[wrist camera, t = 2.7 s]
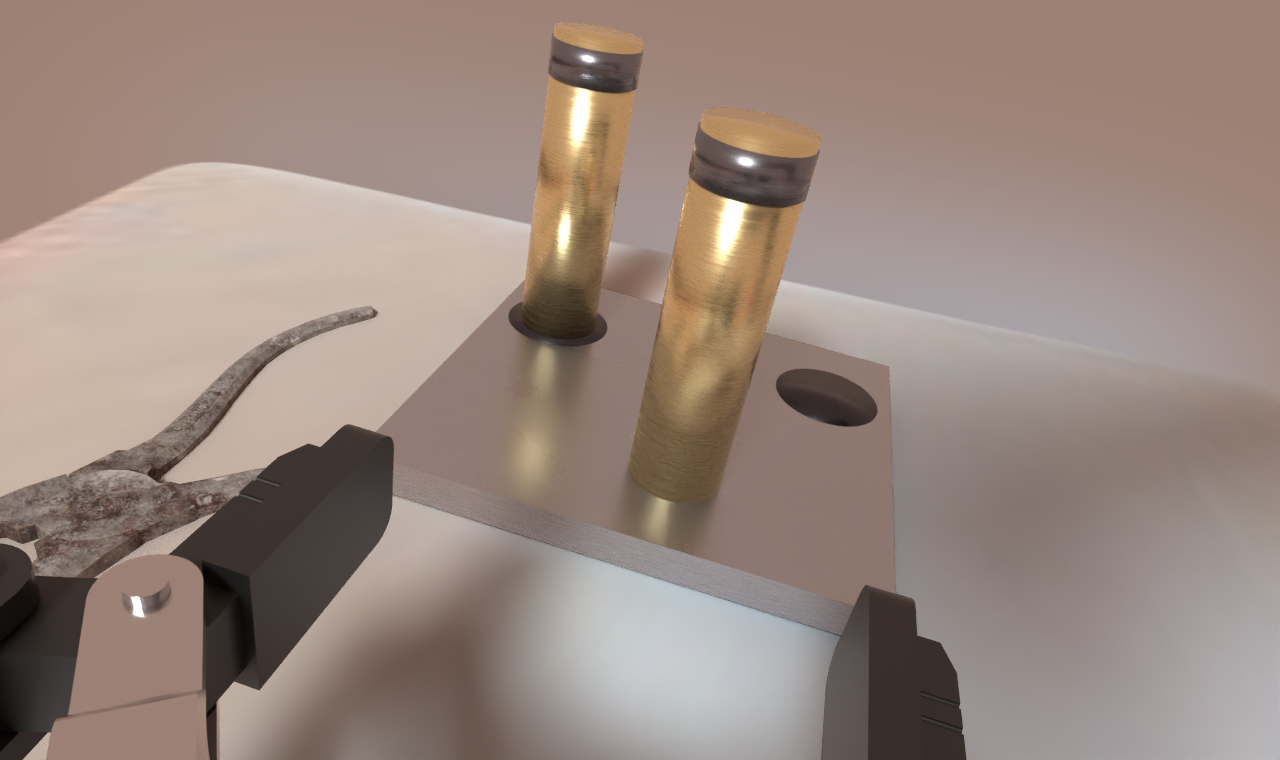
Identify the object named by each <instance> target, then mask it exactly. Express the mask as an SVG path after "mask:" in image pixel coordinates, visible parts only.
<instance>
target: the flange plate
mask: <svg viewBox="0 0 1280 760" xmlns="http://www.w3.org/2000/svg"><path fill="white" fill-rule="evenodd" d="M524 287H525V280H524V281H523V282H522V283H521V284H520V285H519V286H518V287H517V288H516V289H515V290H514V291H513V292H512V294H511V295H510V296H509V297H508V298H507V299H506V300H505V301H504V302H503V303H502V304H501V305H500V306H499V307H498V308H497V309H496V310H495V311H494V312H493V313H492V314H491V315H490V316H489V317H488V318H487V319H486V320H485V321H484V322H483V323H482V324H481V325H480V326H479V327H478V328H477V329H476V330H475V331H474V332H473V333H472V334H471V335H470V336H469V337H468V338H467V339H466V340H465V341H464V342H463V343H462V344H461V346H460V347H459V348H458V349H457V350H456V351H455V352H454V353H453V354H452V355H451V356H450V357H449V358H448V359H447V360H446V361H445V362H444V363H443V364H442V365H441V366H440V367H439V368H438V369H437V370H436V371H435V372H434V373H433V374H432V375H431V376H430V377H429V378H428V379H427V380H426V381H425V382H424V383H423V384H422V385H421V386H420V387H419V388H418V389H417V390H416V391H415V392H414V393H413V394H412V395H411V396H410V398H409V399H408V400H407V401H406V402H405V403H404V404H403V405H402V406H401V407H400V408H399V409H398V410H397V411H396V412H395V413H394V414H393V415H392V416H391V417H390V418H389V419H388V420H387V421H386V422H385V423H384V424H383V425H382V426H381V427H380V428H379V429H378V430H377V431H376V432H377V433H380V434H383V435H386V436H389V437H391V438H392V440H393V443H394V463H393V495H396V496H399V497H402V498H406V499H409V500H412V501H415V502H418V503H421V504H425V505H428V506H431V507H434V508H437V509H441V510H444V511H447V512H450V513H453V514H456V515H460V516H463V517H466V518H469V519H472V520H475V521H479V522H482V523H485V524H488V525H491V526H494V527H498V528H501V529H504V530H507V531H510V532H514V533H517V534H520V535H523V536H526V537H529V538H533V539H536V540H539V541H542V542H545V543H548V544H552V545H555V546H558V547H561V548H564V549H567V550H571V551H574V552H577V553H580V554H583V555H587V556H590V557H593V558H596V559H599V560H602V561H606V562H609V563H612V564H615V565H618V566H621V567H625V568H628V569H631V570H634V571H637V572H640V573H644V574H647V575H650V576H653V577H656V578H660V579H663V580H666V581H669V582H672V583H675V584H679V585H682V586H685V587H688V588H691V589H694V590H698V591H701V592H704V593H707V594H710V595H714V596H717V597H720V598H723V599H726V600H729V601H733V602H736V603H739V604H742V605H745V606H748V607H752V608H755V609H758V610H761V611H764V612H767V613H771V614H774V615H777V616H780V617H783V618H787V619H790V620H793V621H796V622H799V623H802V624H806V625H809V626H812V627H815V628H818V629H821V630H825V631H828V632H831V633H834V634H837V635H840V636H841V635H842V633H843V631H844V628H845V626H846V624H847V622H848V619H849V617H850V615H851V612H852V610H853V608H854V606H855V603H856V601H857V599H858V597H859V594H860V592H861V590H862V589H863V587H864V586H865V585H869V586H872V587H875V588H879V589H882V590H885V591H888V592H892V593H895V594H896V586H895V552H894V518H893V484H892V450H891V416H890V382H889V367H888V366H885V365H881V364H877V363H874V362H870V361H867V360H863V359H859V358H856V357H852V356H848V355H845V354H841V353H837V352H834V351H830V350H826V349H823V348H819V347H815V346H812V345H808V344H804V343H801V342H797V341H793V340H790V339H786V338H782V337H779V336H775V335H771V334H768V333H765V335H764V338H763V342H762V345H761V348H760V352H759V355H758V359H757V362H756V366H755V369H754V373H753V376H752V379H751V383H750V386H749V390H748V393H747V397H746V400H745V404H744V407H743V410H742V414H741V417H740V421H739V424H738V428H737V431H736V435H735V438H734V442H733V445H732V448H731V452H730V455H729V459H728V462H727V466H726V469H725V473H724V476H723V479H722V483H721V486H720V489H719V490H718V492H717V493H716V494H715V495H714V496H712V497H711V498H709V499H707V500H704V501H701V502H697V503H676V502H671V501H667V500H663V499H660V498H658V497H656V496H653V495H651V494H650V493H648V492H646V491H645V490H643V489H642V488H641V487H640V486H638V485H637V483H636V482H635V481H634V480H633V478H632V477H631V475H630V472H629V468H628V463H629V458H630V453H631V449H632V444H633V439H634V434H635V430H636V425H637V420H638V416H639V411H640V406H641V402H642V397H643V392H644V387H645V383H646V378H647V373H648V369H649V364H650V359H651V355H652V350H653V345H654V340H655V336H656V331H657V326H658V322H659V317H660V312H661V308H662V304H658V303H654V302H651V301H647V300H643V299H640V298H636V297H632V296H629V295H625V294H621V293H618V292H614V291H610V290H607V289H603V288H602V290H601V296H600V301H599V307H598V313H597V319H596V325H595V329H594V331H593V332H592V333H591V334H590V335H588V336H586V337H583V338H579V339H571V340H564V339H554V338H549V337H545V336H542V335H540V334H537V333H535V332H533V331H531V330H530V329H528V328H527V327H526V326H525V325H524V324H523V322H522V320H521V313H522V304H523V295H524Z"/></svg>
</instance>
